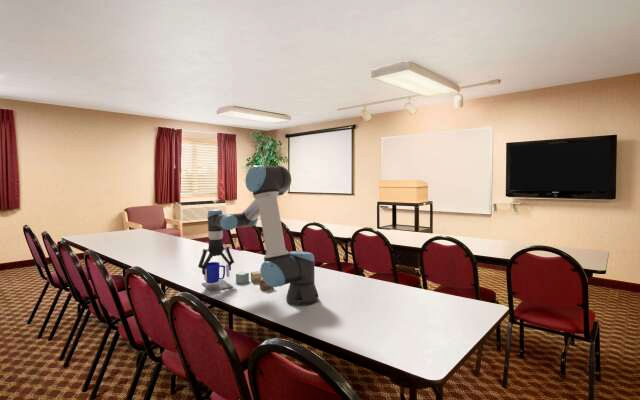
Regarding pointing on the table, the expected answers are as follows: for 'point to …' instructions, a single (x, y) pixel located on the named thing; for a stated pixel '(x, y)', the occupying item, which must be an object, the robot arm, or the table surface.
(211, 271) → the mug
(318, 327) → the table surface
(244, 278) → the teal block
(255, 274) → the oak block
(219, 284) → the trivet
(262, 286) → the walnut block
